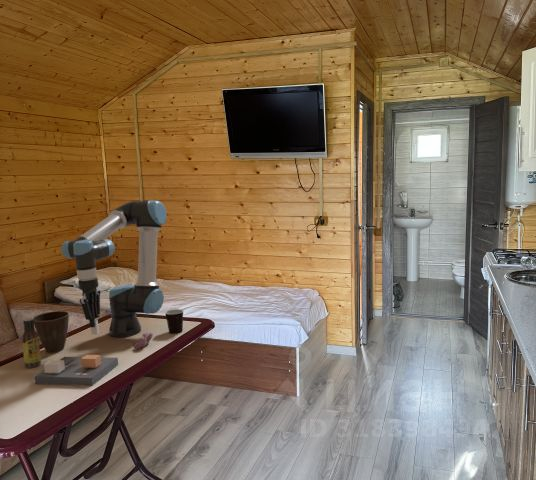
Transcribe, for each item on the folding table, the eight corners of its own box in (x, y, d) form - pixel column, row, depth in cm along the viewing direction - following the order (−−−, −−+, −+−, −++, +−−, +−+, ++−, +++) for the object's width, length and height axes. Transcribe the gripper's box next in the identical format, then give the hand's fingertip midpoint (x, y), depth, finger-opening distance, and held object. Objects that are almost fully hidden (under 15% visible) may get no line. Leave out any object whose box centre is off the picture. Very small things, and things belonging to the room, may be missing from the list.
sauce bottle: (31, 369, 208) (25, 322, 205) (21, 367, 211) (15, 321, 208) (45, 363, 214) (39, 318, 211) (35, 361, 217) (29, 316, 214)
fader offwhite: (51, 368, 198) (50, 360, 198) (65, 368, 197) (64, 360, 197) (44, 372, 195) (43, 364, 194) (58, 373, 193) (57, 364, 193)
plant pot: (64, 355, 223) (60, 320, 220) (30, 356, 223) (26, 321, 221) (77, 343, 238) (73, 310, 235) (46, 345, 238) (42, 312, 236)
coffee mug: (169, 329, 251) (167, 309, 249) (186, 328, 251) (184, 308, 249) (163, 337, 239) (161, 316, 238) (181, 336, 239) (179, 315, 238)
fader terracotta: (87, 363, 202) (86, 354, 201) (101, 363, 201) (100, 355, 200) (81, 367, 198) (80, 358, 197) (95, 367, 197) (94, 359, 196)
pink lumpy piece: (141, 353, 224) (146, 339, 223) (132, 348, 225) (137, 335, 223) (150, 345, 234) (155, 332, 232) (141, 341, 234) (147, 328, 233)
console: (65, 363, 213) (64, 356, 212) (118, 364, 208) (117, 357, 208) (35, 383, 193) (34, 376, 193) (92, 385, 189) (91, 377, 188)
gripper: (87, 274, 213) (95, 328, 217) (70, 283, 200) (78, 339, 204) (104, 274, 211) (111, 327, 216) (88, 282, 199) (96, 339, 203)
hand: (95, 333), depth 210 cm, fingers closed
